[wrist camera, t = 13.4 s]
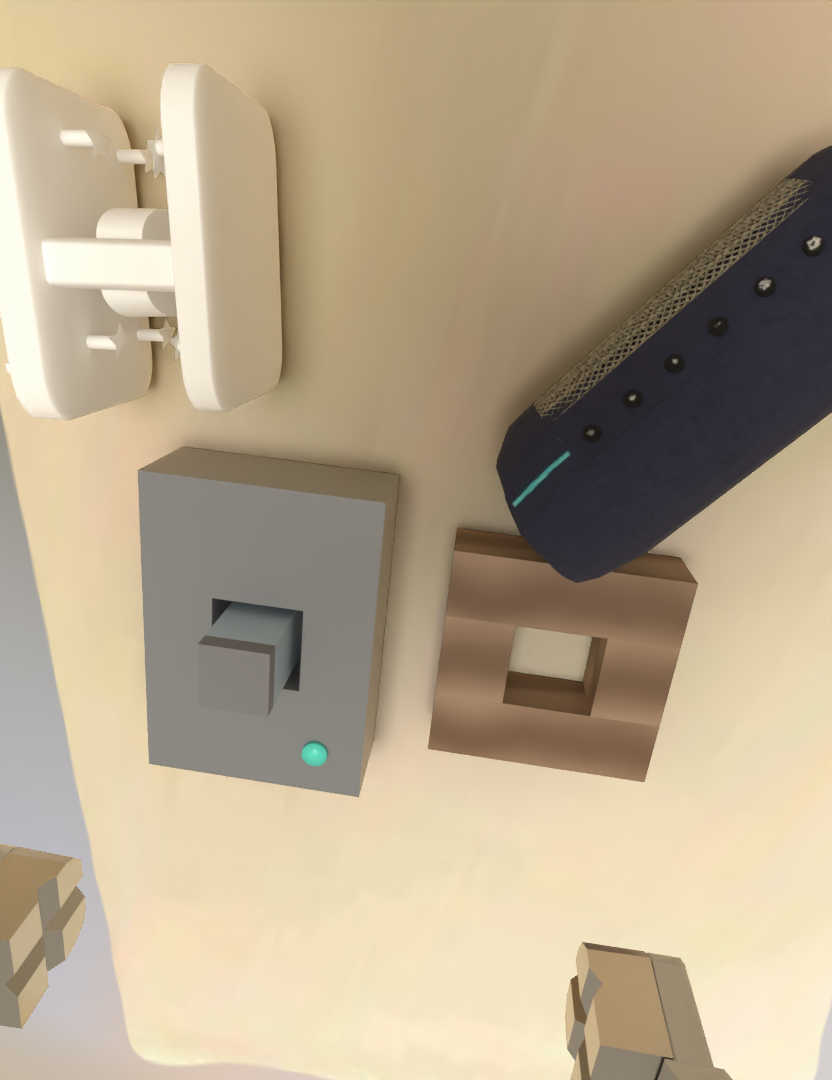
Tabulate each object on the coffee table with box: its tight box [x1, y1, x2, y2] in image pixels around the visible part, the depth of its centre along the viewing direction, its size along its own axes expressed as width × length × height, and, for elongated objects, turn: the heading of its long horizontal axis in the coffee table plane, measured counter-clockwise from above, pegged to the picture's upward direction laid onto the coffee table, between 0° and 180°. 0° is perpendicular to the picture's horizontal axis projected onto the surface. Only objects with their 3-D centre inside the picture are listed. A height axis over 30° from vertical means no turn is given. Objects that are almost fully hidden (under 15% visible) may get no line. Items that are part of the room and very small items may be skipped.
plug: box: [198, 601, 303, 717], centre depth 43 cm, size 4×4×10 cm
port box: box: [138, 447, 400, 797], centre depth 45 cm, size 20×14×6 cm
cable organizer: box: [0, 63, 282, 420], centre depth 35 cm, size 15×11×12 cm
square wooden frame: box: [428, 528, 698, 782], centre depth 45 cm, size 14×14×4 cm
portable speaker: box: [496, 146, 832, 583], centre depth 35 cm, size 25×10×10 cm, turn 134°
